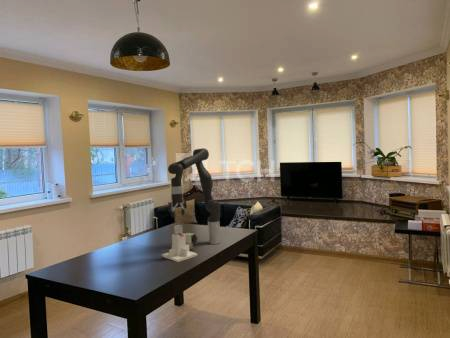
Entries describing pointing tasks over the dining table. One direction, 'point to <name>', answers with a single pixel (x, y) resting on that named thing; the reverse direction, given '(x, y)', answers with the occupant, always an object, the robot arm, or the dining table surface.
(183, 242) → the stand base
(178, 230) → the column
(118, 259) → the dining table surface
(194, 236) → the pneumatic valve
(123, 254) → the dining table surface
